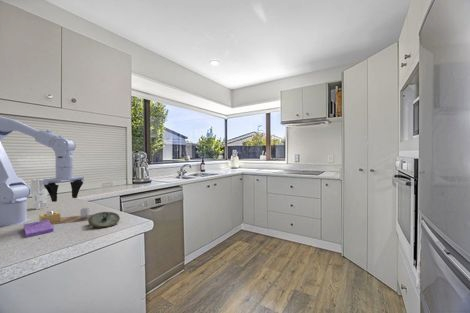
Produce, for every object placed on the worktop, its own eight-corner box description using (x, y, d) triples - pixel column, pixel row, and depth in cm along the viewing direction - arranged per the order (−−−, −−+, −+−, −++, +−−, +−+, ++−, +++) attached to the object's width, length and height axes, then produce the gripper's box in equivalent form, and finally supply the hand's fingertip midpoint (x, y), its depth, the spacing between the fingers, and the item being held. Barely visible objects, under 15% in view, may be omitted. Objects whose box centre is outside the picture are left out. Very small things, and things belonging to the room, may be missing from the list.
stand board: (32, 228, 80) (31, 215, 80) (45, 220, 89) (45, 209, 89) (91, 221, 86) (91, 210, 86) (97, 215, 96) (97, 205, 96)
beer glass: (28, 208, 111) (28, 180, 111) (45, 205, 117) (44, 178, 117) (34, 210, 107) (33, 180, 107) (51, 207, 114) (50, 179, 114)
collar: (41, 224, 82) (41, 216, 82) (39, 221, 85) (39, 214, 85) (60, 221, 86) (60, 213, 86) (57, 218, 89) (57, 211, 89)
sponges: (48, 223, 82) (48, 219, 82) (54, 232, 74) (53, 227, 74) (23, 229, 77) (23, 224, 77) (26, 239, 69) (25, 233, 69)
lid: (114, 219, 90) (114, 207, 90) (124, 223, 83) (123, 210, 83) (85, 225, 82) (84, 212, 82) (93, 231, 75) (92, 217, 75)
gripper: (49, 168, 80) (50, 204, 80) (88, 166, 94) (88, 197, 94) (38, 168, 83) (39, 202, 83) (78, 166, 96) (78, 196, 96)
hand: (64, 199), depth 89 cm, fingers open, 7 cm apart
